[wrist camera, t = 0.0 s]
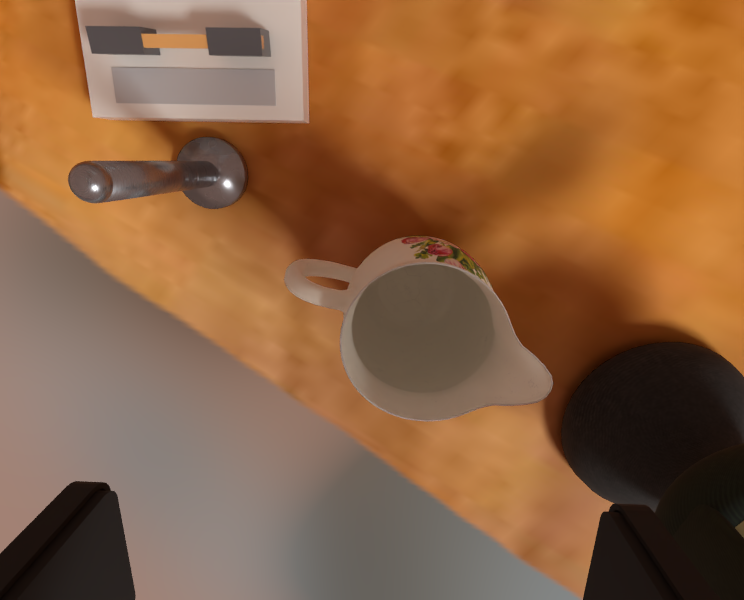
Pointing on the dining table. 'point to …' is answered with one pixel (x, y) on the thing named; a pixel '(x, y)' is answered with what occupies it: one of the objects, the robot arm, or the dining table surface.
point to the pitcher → (424, 331)
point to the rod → (168, 176)
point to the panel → (200, 63)
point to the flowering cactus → (669, 448)
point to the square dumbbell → (178, 41)
